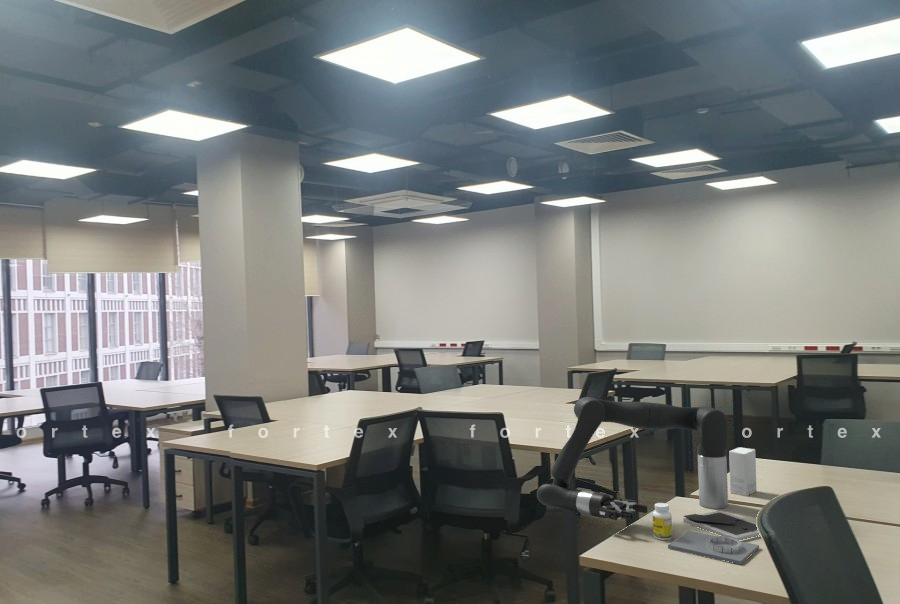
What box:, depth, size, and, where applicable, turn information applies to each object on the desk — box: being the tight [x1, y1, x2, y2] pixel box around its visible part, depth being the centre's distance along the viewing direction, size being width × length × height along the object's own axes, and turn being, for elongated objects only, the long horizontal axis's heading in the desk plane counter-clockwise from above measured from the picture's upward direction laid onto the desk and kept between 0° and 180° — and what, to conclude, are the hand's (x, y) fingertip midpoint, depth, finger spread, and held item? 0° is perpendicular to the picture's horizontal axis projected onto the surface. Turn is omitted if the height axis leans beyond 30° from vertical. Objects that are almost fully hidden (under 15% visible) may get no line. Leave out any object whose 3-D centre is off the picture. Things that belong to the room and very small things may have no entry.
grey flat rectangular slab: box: [667, 530, 760, 565], centre depth 187 cm, size 15×20×1 cm
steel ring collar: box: [706, 535, 742, 553], centre depth 185 cm, size 9×9×2 cm
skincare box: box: [728, 446, 757, 497], centre depth 240 cm, size 8×7×16 cm
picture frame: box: [682, 509, 760, 540], centre depth 204 cm, size 16×3×21 cm
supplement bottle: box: [652, 502, 673, 541], centre depth 197 cm, size 5×5×10 cm
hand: (640, 513), depth 202 cm, fingers open, 8 cm apart
